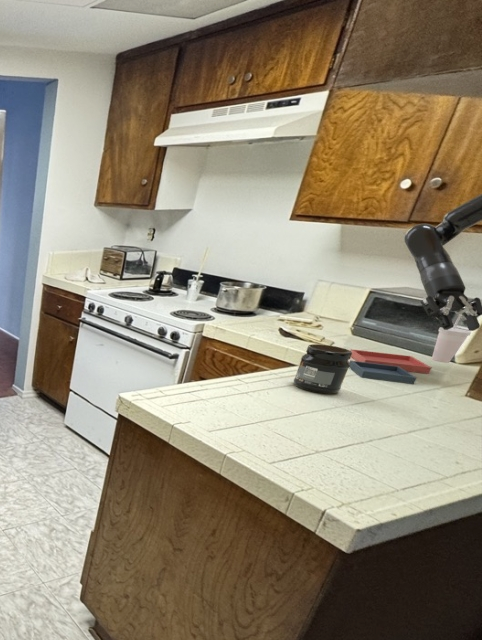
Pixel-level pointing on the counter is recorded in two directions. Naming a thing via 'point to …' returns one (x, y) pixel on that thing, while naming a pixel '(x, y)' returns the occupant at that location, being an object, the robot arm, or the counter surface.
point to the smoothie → (449, 342)
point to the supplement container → (323, 368)
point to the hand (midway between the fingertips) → (461, 328)
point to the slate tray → (382, 372)
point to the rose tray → (391, 360)
